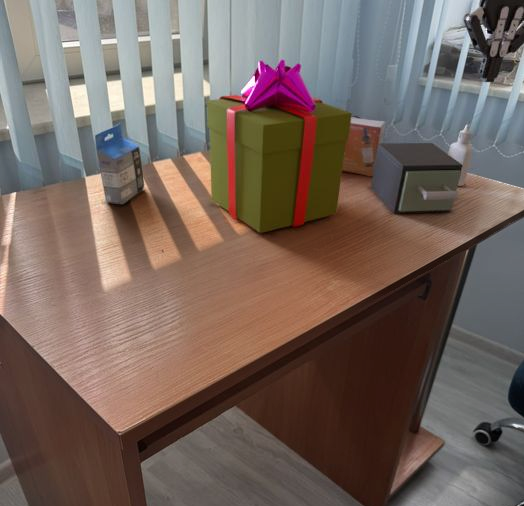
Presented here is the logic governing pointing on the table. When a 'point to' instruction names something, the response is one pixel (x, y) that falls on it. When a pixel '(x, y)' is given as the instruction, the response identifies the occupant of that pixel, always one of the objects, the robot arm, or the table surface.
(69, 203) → the table surface
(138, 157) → the label tape box
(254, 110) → the gift box
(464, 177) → the eye dropper bottle
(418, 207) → the drawer
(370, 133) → the small box
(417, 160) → the cabinet
